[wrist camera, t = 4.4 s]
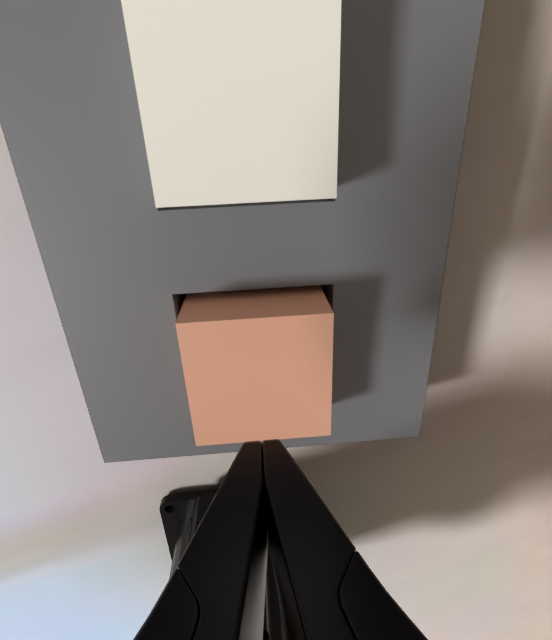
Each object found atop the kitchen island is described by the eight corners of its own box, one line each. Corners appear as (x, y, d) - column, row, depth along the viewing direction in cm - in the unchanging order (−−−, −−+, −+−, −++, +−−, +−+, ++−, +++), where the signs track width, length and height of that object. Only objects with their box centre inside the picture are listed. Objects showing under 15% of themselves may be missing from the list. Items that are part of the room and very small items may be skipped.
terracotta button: (317, 390, 15) (330, 435, 13) (203, 399, 15) (196, 446, 13) (318, 283, 13) (333, 313, 11) (187, 291, 13) (175, 323, 11)
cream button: (319, 186, 12) (336, 197, 10) (173, 194, 12) (155, 207, 9) (320, 6, 10) (342, -33, 8) (146, 11, 10) (116, -27, 7)
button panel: (396, 397, 17) (419, 436, 15) (123, 418, 17) (104, 462, 14) (505, -577, 8) (616, -883, 5) (-144, -602, 7) (-332, -958, 5)
